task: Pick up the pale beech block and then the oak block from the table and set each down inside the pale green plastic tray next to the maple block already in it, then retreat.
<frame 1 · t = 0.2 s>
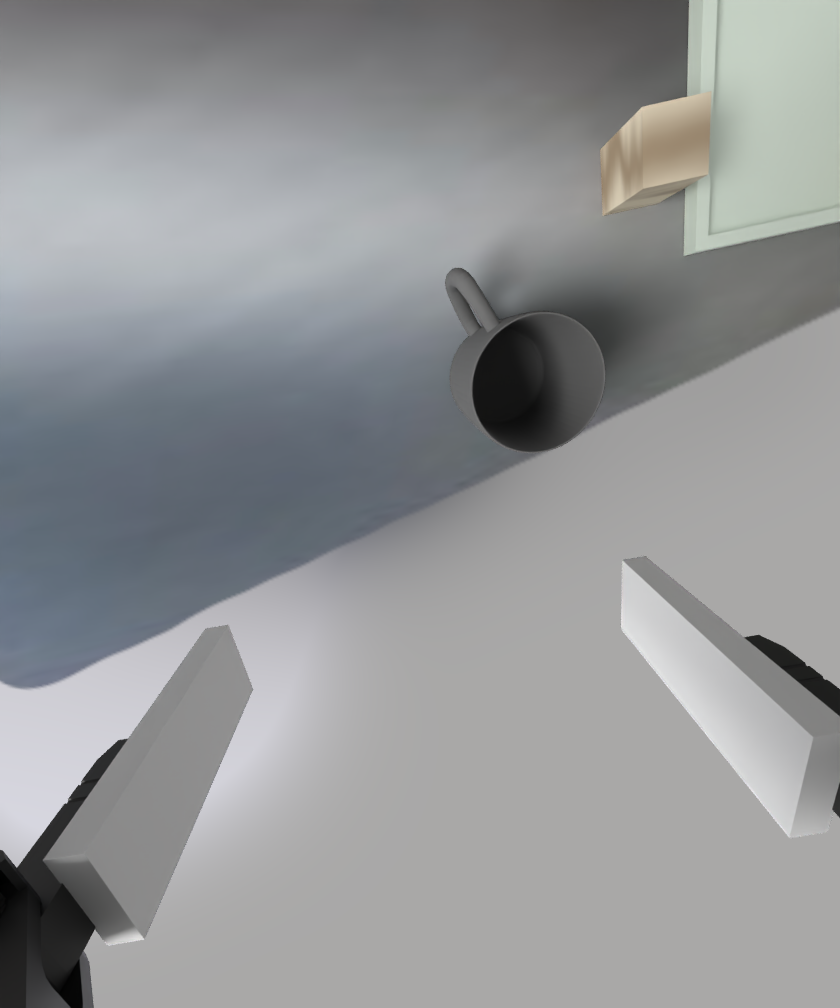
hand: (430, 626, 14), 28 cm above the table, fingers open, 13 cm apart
tray: (822, 87, 32), on the table
mug: (483, 355, 37), on the table
beech block: (629, 177, 33), on the table
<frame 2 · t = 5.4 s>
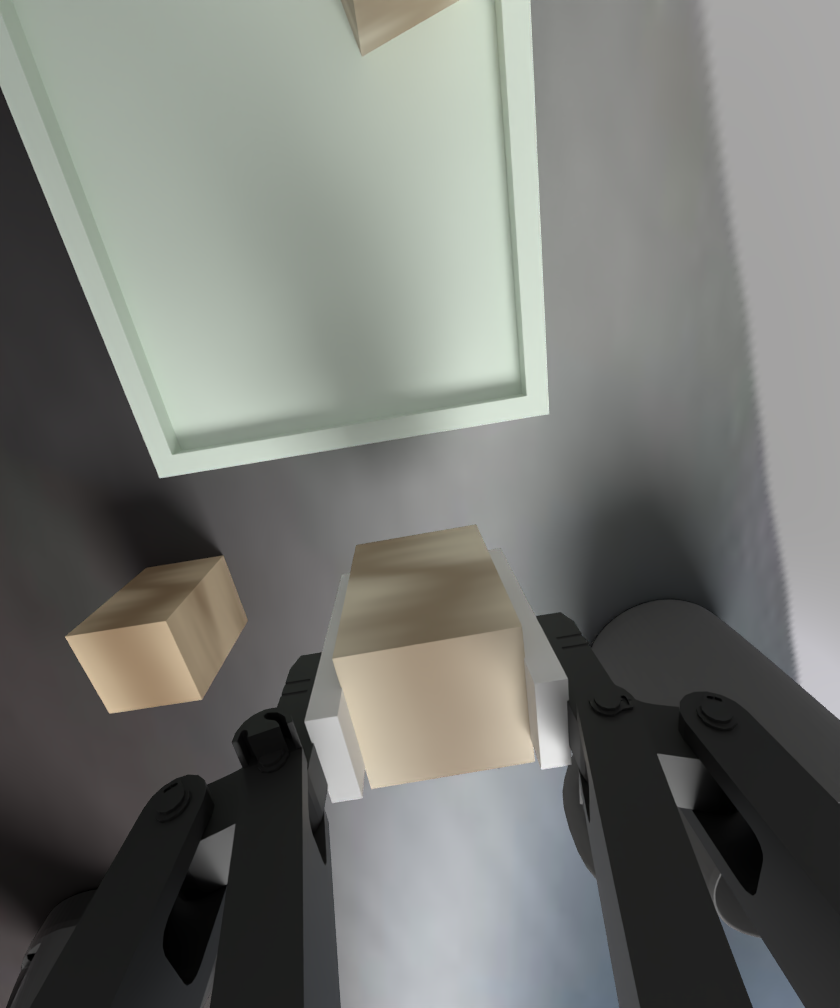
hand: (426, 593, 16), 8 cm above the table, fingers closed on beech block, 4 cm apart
tray: (302, 197, 17), on the table
mug: (620, 668, 27), on the table
oak block: (198, 594, 24), on the table
beech block: (425, 586, 16), point 7 cm above the table, touching gripper
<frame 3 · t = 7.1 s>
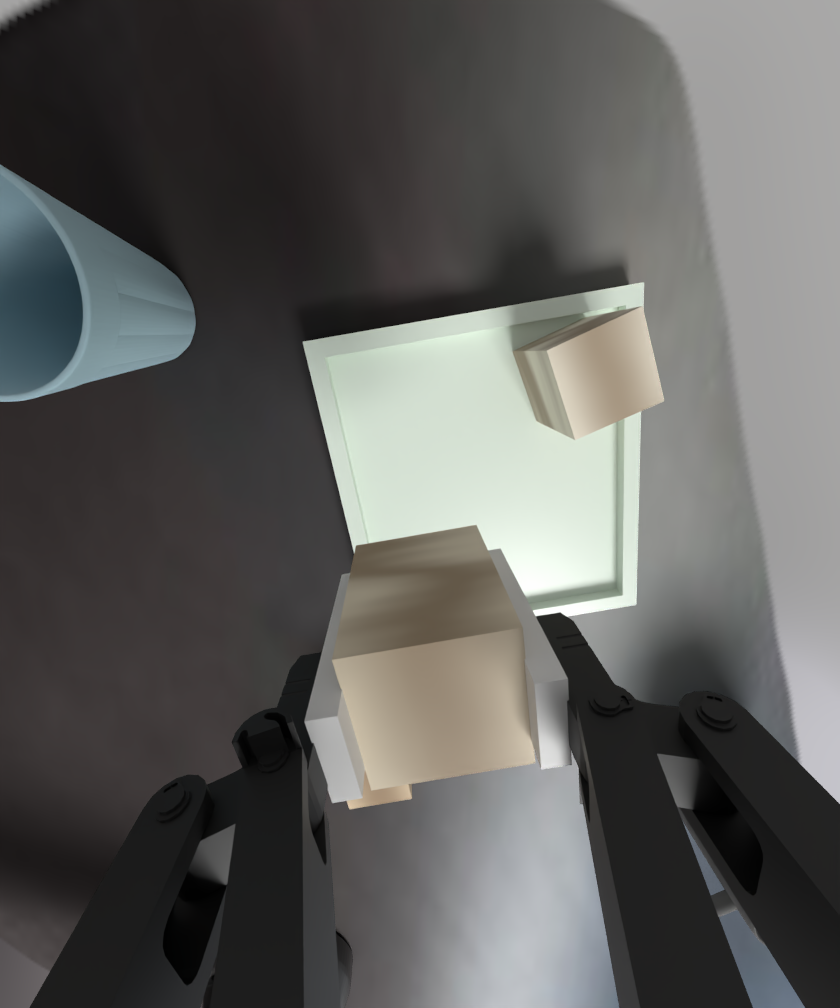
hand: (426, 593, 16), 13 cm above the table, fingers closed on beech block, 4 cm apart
tray: (487, 484, 28), on the table
mug: (670, 751, 38), on the table
cup: (148, 312, 23), on the table
oak block: (378, 711, 34), on the table
maple block: (559, 371, 25), point 1 cm above the table, touching tray
beech block: (425, 587, 16), point 12 cm above the table, touching gripper
when the fingers open (2 cm above the table, at t = 9.0 s): beech block stays where it is, resting on tray.
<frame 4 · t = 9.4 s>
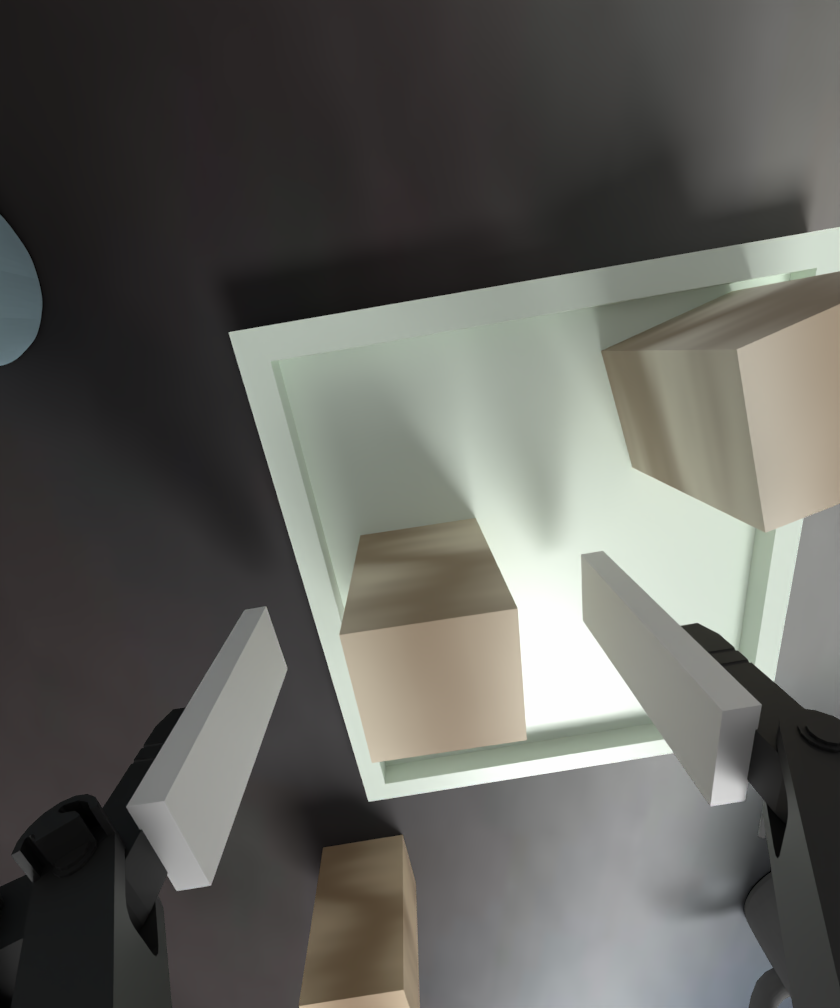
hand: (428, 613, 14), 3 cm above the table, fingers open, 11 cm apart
tray: (542, 562, 17), on the table
mug: (774, 902, 27), on the table
oak block: (371, 865, 24), on the table
maple block: (678, 385, 15), point 1 cm above the table, touching tray
beech block: (425, 577, 17), point 1 cm above the table, touching tray
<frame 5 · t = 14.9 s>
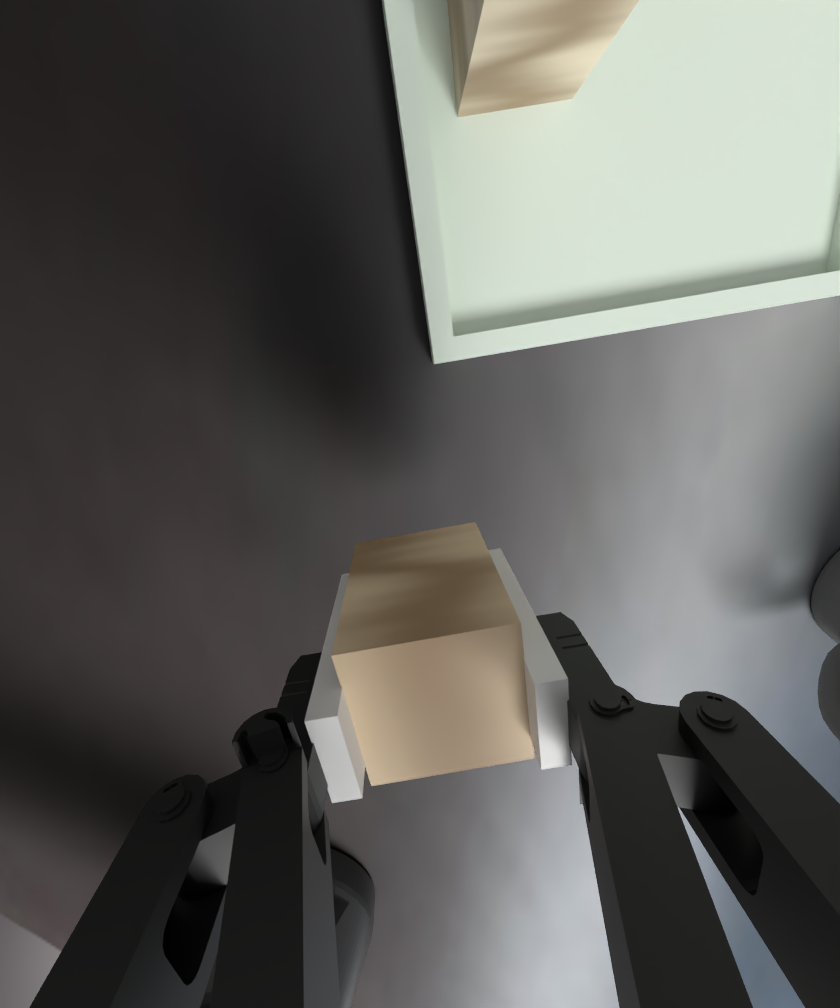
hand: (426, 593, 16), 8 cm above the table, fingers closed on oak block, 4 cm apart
tray: (636, 37, 16), on the table
oak block: (425, 584, 16), point 7 cm above the table, touching gripper
beech block: (511, 31, 15), point 1 cm above the table, touching tray
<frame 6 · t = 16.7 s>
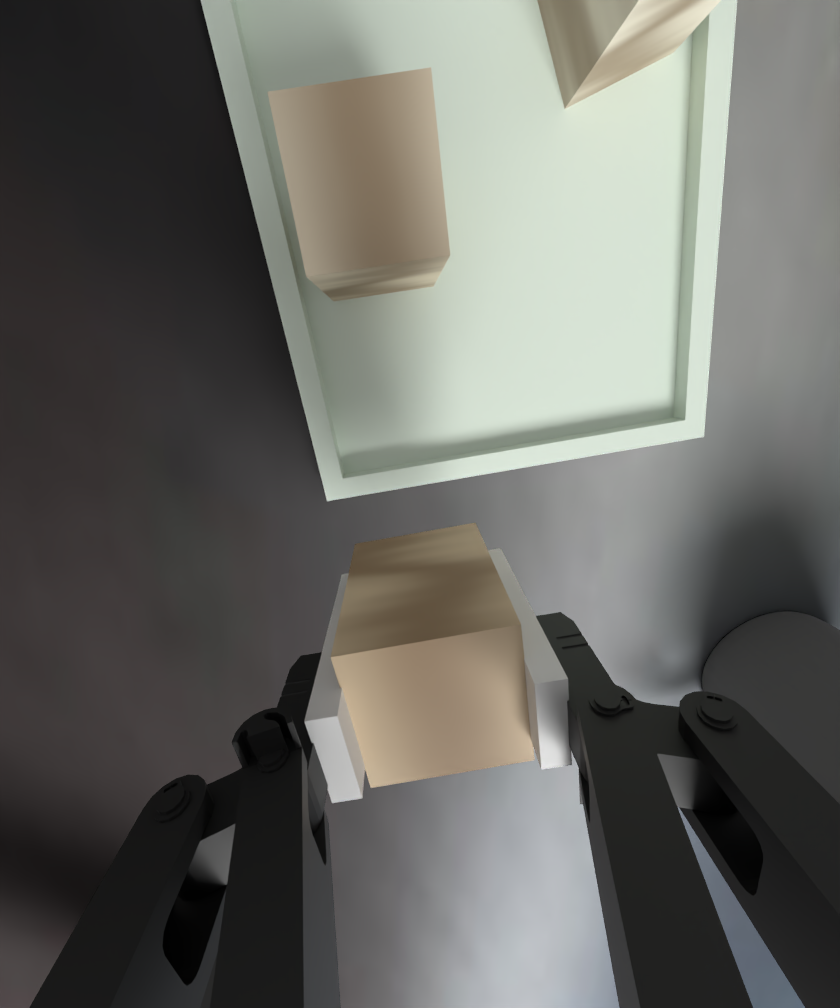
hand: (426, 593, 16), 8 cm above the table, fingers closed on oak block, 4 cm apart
tray: (487, 234, 18), on the table
mug: (731, 679, 28), on the table
oak block: (425, 585, 16), point 7 cm above the table, touching gripper
maple block: (603, 10, 16), point 1 cm above the table, touching tray
beech block: (374, 235, 18), point 1 cm above the table, touching tray
when the fingers open (2 cm above the table, at t = 18.8 s): oak block stays where it is, resting on tray.
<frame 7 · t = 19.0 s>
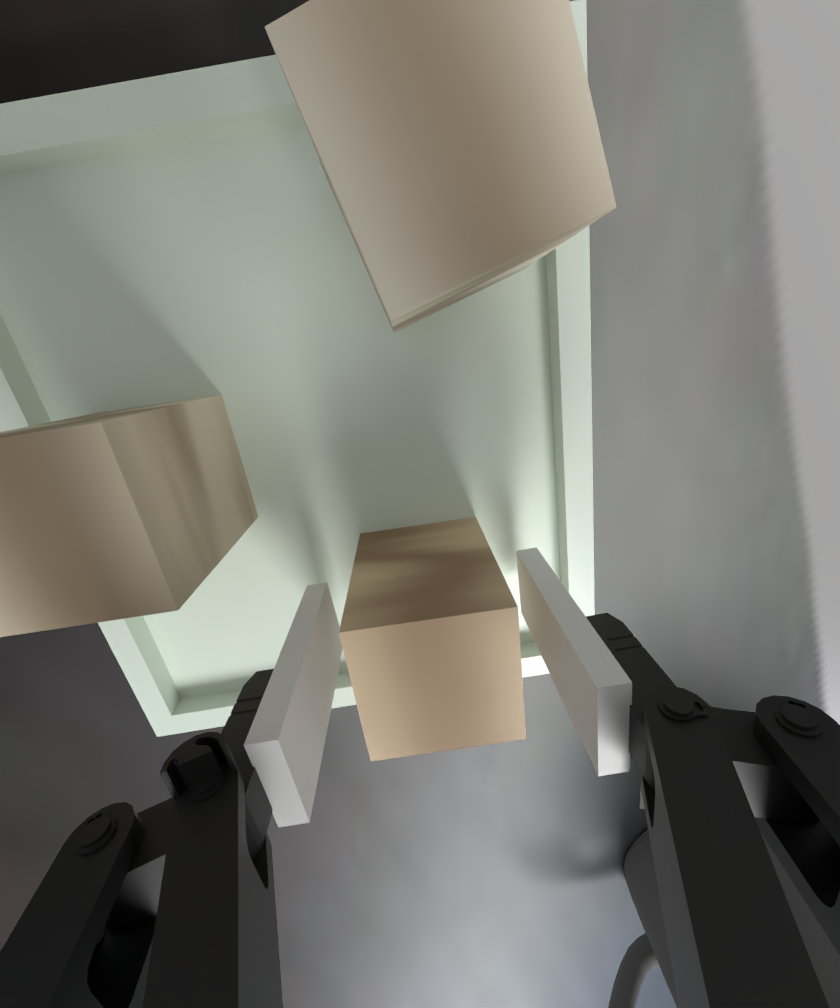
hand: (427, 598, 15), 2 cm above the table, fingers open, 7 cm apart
tray: (322, 456, 15), on the table
mug: (658, 864, 25), on the table
oak block: (425, 575, 17), point 1 cm above the table, touching tray
maple block: (429, 226, 13), point 1 cm above the table, touching tray
beech block: (178, 468, 15), point 1 cm above the table, touching tray
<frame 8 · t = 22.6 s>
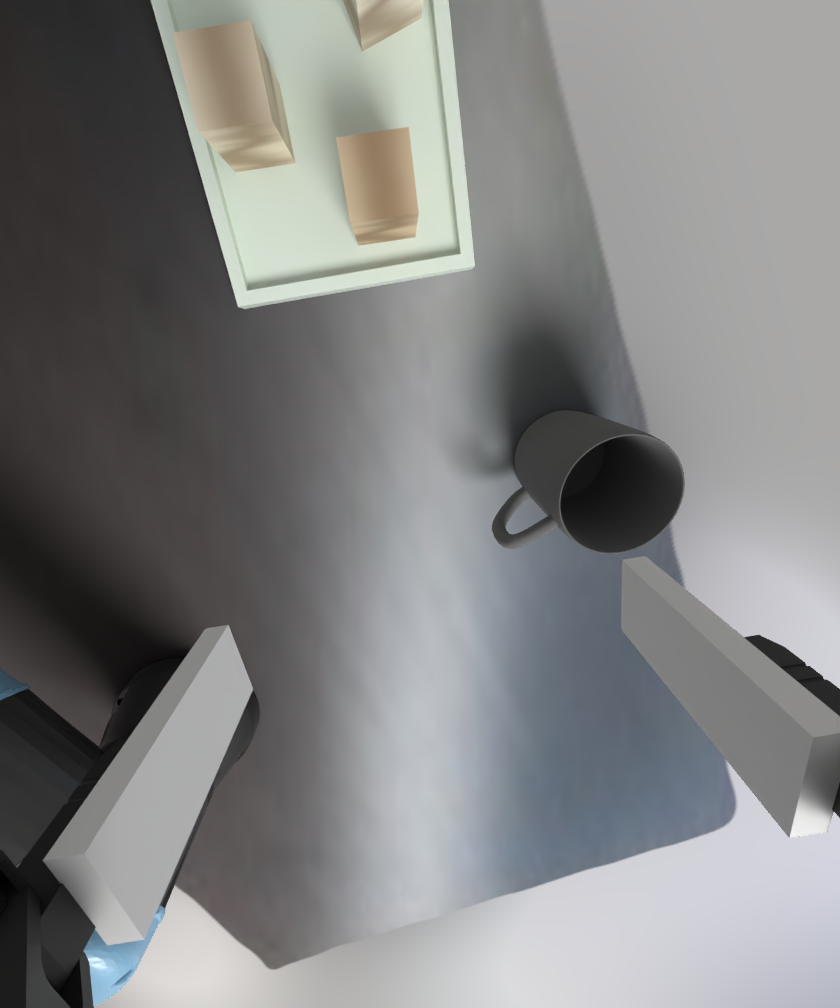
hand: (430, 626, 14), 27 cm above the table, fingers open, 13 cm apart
tray: (327, 131, 30), on the table
mug: (537, 468, 40), on the table
oak block: (382, 207, 32), point 1 cm above the table, touching tray
beech block: (257, 130, 30), point 1 cm above the table, touching tray
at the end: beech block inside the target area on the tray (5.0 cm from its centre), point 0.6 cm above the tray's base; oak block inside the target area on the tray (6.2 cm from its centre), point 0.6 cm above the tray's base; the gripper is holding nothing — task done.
